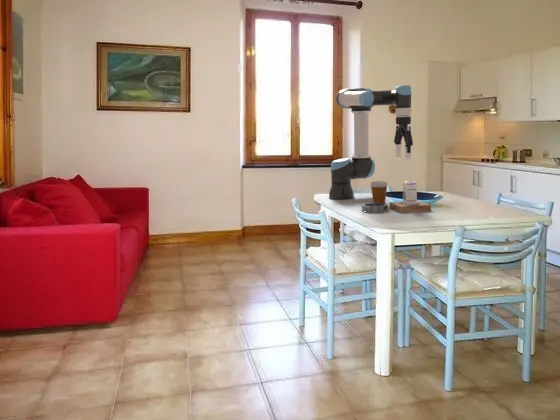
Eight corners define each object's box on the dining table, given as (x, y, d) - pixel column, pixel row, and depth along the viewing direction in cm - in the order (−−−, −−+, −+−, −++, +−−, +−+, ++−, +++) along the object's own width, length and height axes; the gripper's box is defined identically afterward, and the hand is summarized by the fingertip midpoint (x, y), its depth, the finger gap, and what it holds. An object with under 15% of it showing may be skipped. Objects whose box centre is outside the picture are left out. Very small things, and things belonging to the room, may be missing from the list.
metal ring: (369, 207, 276) (369, 201, 275) (391, 209, 268) (391, 203, 267) (357, 211, 266) (357, 206, 265) (380, 213, 258) (380, 207, 257)
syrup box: (417, 209, 263) (417, 181, 260) (406, 210, 262) (405, 182, 260) (413, 207, 268) (413, 180, 266) (402, 208, 268) (402, 181, 265)
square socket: (389, 207, 272) (389, 202, 272) (418, 205, 274) (418, 200, 274) (400, 213, 257) (400, 207, 256) (430, 210, 259) (430, 204, 258)
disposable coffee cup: (387, 205, 280) (387, 183, 278) (370, 205, 282) (369, 183, 280) (387, 202, 289) (387, 181, 287) (370, 202, 291) (370, 181, 289)
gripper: (420, 116, 249) (419, 160, 254) (401, 115, 274) (401, 155, 278) (405, 117, 248) (404, 160, 253) (387, 116, 273) (387, 156, 277)
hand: (403, 158), depth 265 cm, fingers open, 13 cm apart
